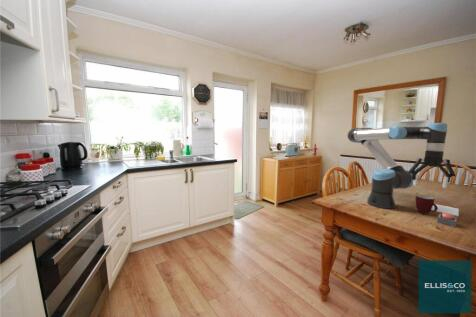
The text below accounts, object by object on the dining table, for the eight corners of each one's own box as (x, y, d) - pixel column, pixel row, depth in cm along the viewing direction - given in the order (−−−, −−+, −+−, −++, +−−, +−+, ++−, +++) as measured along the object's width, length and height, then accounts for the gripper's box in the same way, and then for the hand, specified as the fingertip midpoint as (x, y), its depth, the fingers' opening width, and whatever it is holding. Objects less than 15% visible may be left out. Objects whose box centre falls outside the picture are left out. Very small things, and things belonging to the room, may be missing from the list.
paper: (458, 216, 117) (458, 215, 117) (430, 210, 126) (430, 209, 126) (458, 209, 128) (459, 208, 128) (432, 204, 137) (432, 203, 137)
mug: (440, 216, 117) (443, 199, 116) (432, 218, 114) (435, 201, 113) (418, 209, 127) (420, 194, 126) (411, 211, 124) (413, 195, 123)
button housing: (455, 227, 104) (456, 221, 103) (437, 222, 109) (438, 217, 109) (456, 223, 108) (456, 217, 108) (438, 219, 113) (439, 213, 113)
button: (453, 221, 105) (453, 216, 105) (441, 218, 109) (441, 214, 108) (453, 219, 108) (454, 214, 108) (441, 216, 111) (442, 212, 111)
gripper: (410, 150, 117) (405, 185, 120) (468, 152, 107) (461, 190, 110) (405, 148, 124) (400, 182, 127) (459, 150, 114) (453, 187, 117)
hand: (429, 186), depth 119 cm, fingers open, 13 cm apart
